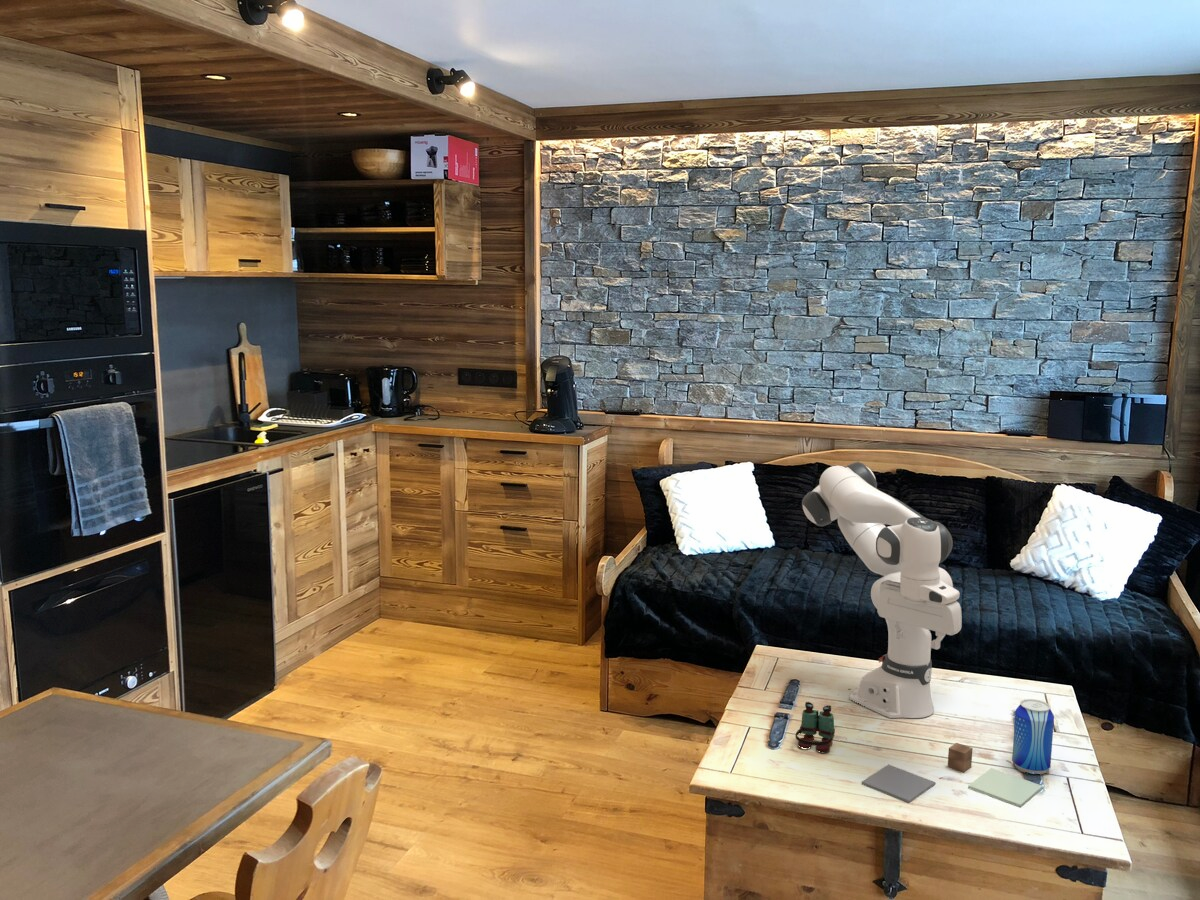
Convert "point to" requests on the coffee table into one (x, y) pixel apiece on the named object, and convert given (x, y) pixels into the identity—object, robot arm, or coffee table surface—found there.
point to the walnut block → (960, 757)
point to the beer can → (1033, 736)
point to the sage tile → (1005, 787)
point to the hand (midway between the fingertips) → (917, 643)
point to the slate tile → (898, 783)
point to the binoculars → (816, 727)
